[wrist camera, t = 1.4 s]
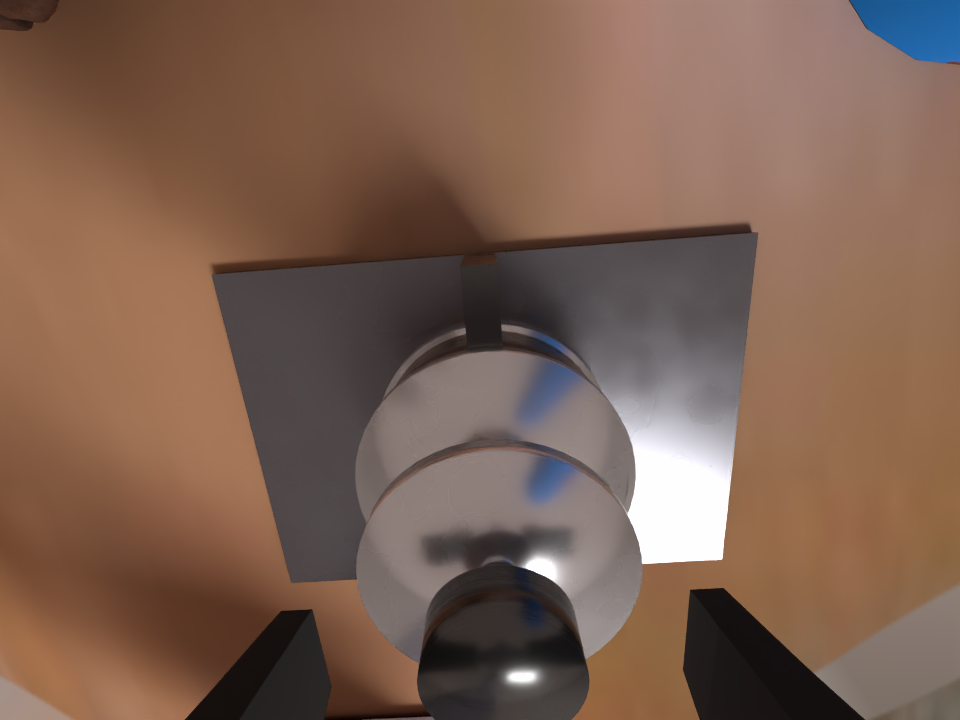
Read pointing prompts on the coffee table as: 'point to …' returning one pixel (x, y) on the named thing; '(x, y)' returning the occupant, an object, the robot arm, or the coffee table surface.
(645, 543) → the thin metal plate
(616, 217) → the coffee table surface
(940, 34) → the thermos
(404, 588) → the silver lid with knob
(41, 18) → the brown animal figurine
